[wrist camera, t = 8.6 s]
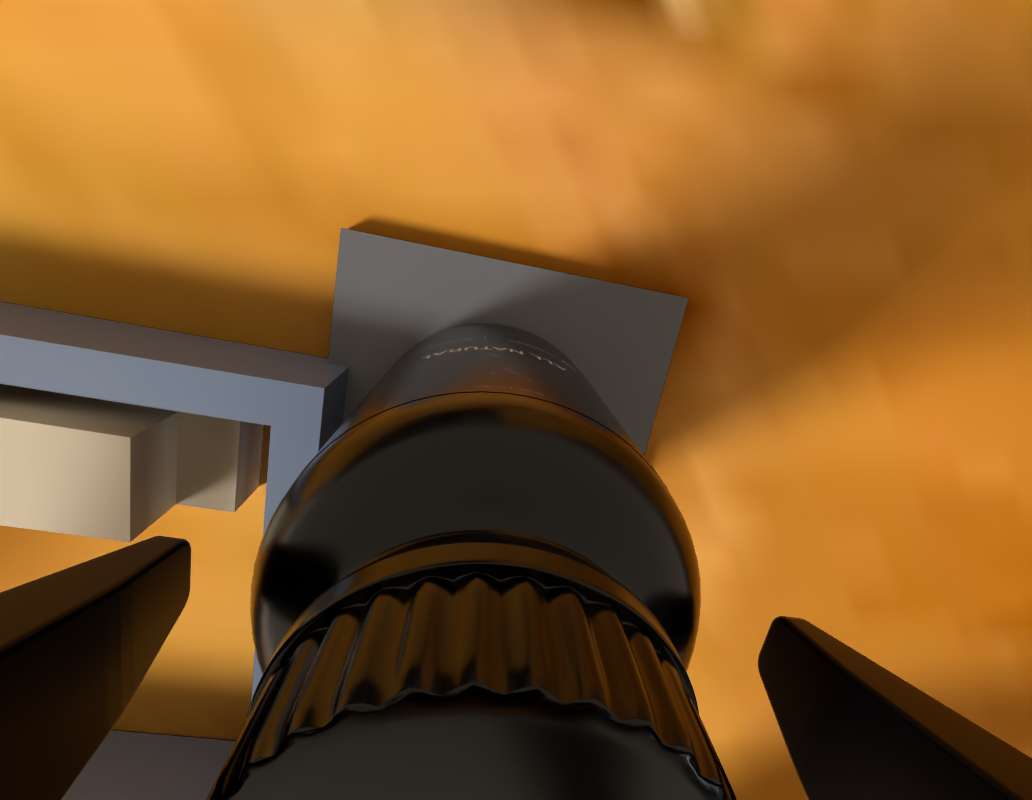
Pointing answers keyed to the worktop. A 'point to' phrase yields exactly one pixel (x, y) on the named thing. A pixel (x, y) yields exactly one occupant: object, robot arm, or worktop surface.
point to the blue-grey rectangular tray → (191, 389)
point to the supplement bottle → (476, 599)
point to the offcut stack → (116, 463)
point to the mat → (500, 318)
